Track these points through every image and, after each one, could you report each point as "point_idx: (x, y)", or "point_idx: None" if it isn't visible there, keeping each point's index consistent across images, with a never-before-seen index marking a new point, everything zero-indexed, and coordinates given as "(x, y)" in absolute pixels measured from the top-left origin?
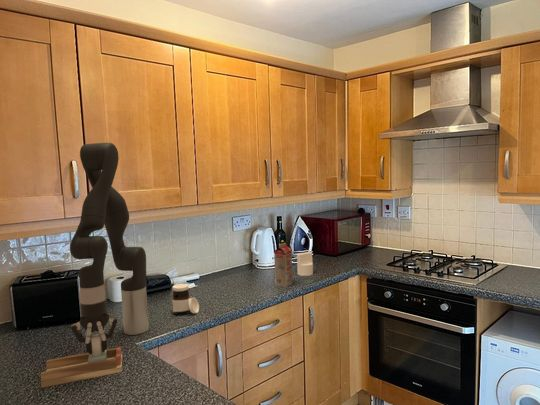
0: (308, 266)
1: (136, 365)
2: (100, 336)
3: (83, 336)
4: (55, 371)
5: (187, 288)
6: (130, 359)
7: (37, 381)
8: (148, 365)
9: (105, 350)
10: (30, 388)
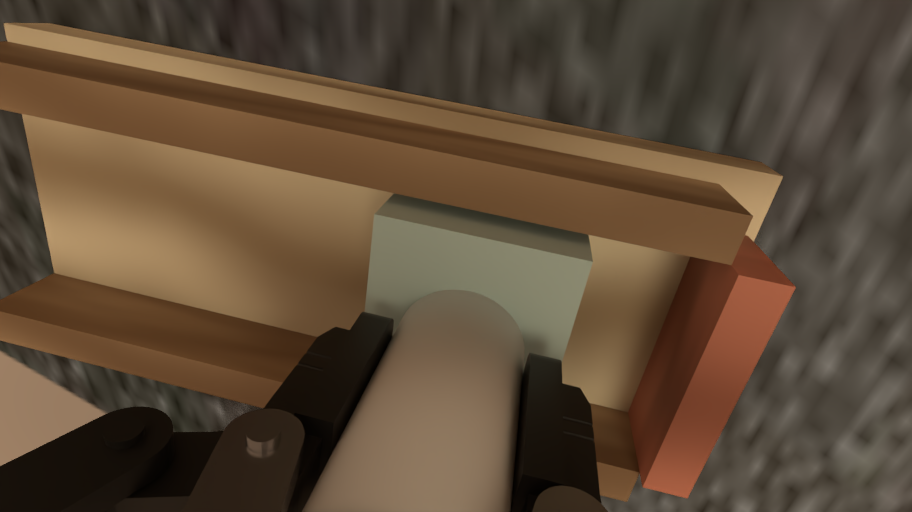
0: None
1: (802, 404)
2: None
3: (137, 472)
4: (102, 365)
5: None
6: (817, 257)
7: (29, 173)
8: (890, 466)
9: (570, 298)
10: (21, 254)
